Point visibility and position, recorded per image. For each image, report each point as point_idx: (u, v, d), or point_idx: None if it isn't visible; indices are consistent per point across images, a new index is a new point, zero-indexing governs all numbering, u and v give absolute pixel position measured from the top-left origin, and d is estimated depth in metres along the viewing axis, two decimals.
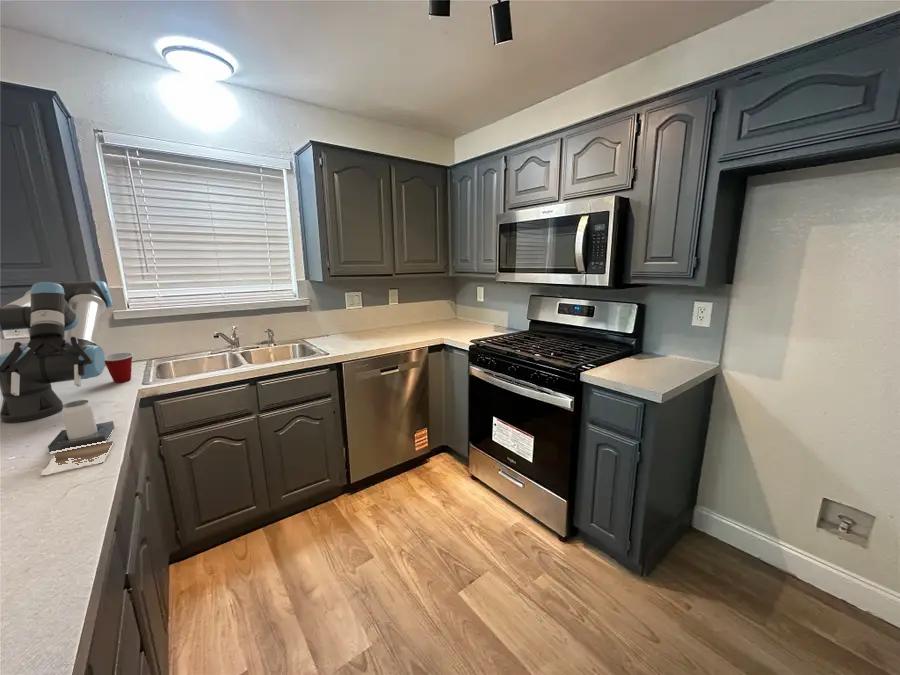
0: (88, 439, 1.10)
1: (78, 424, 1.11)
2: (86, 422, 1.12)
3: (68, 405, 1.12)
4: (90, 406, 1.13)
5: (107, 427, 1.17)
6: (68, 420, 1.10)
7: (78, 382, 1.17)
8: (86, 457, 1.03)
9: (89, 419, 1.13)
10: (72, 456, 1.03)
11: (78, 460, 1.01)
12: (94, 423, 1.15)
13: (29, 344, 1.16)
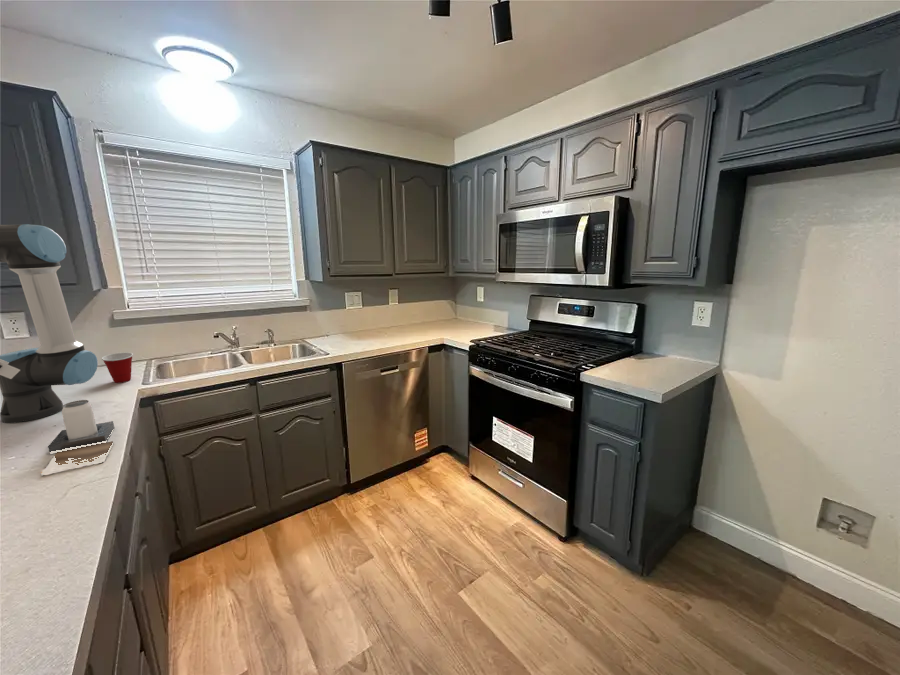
0: (88, 439, 1.10)
1: (78, 424, 1.11)
2: (86, 422, 1.12)
3: (68, 405, 1.12)
4: (90, 406, 1.13)
5: (107, 427, 1.17)
6: (68, 420, 1.10)
7: (10, 375, 0.96)
8: (86, 457, 1.03)
9: (89, 419, 1.13)
10: (72, 456, 1.03)
11: (78, 460, 1.01)
12: (94, 423, 1.15)
13: None
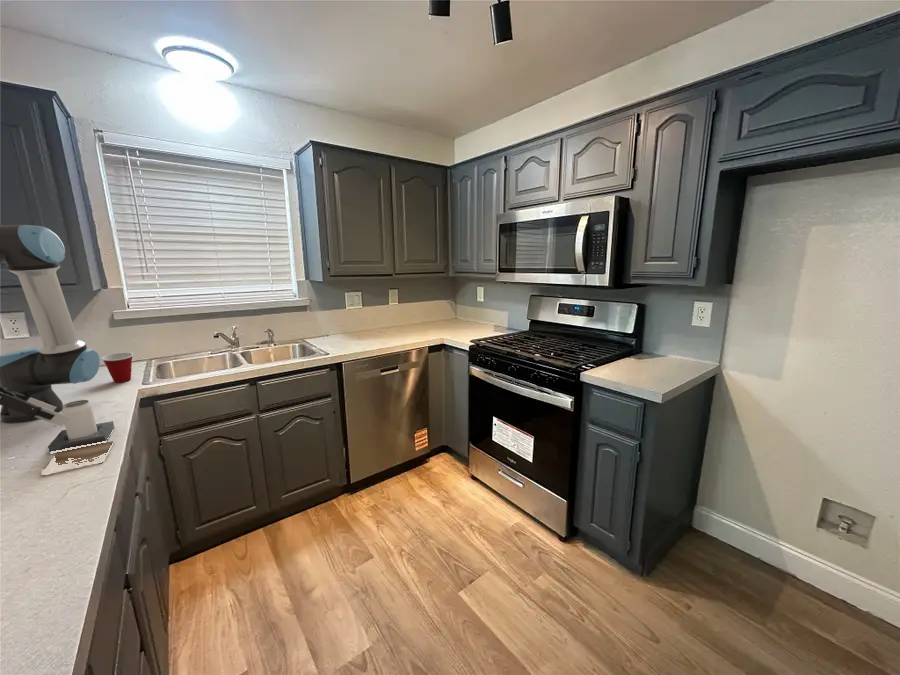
0: (88, 439, 1.10)
1: (78, 424, 1.11)
2: (86, 422, 1.12)
3: (68, 405, 1.12)
4: (90, 406, 1.13)
5: (107, 427, 1.17)
6: (68, 420, 1.10)
7: (61, 423, 1.04)
8: (86, 457, 1.03)
9: (89, 419, 1.13)
10: (72, 456, 1.03)
11: (78, 460, 1.01)
12: (94, 423, 1.15)
13: None
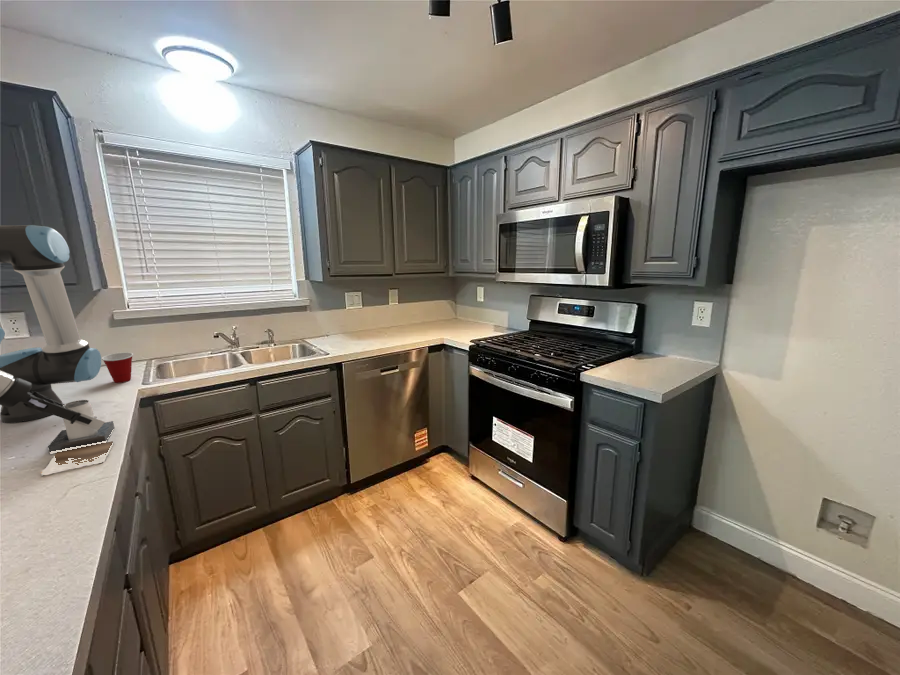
0: (88, 439, 1.10)
1: (78, 424, 1.11)
2: None
3: (68, 405, 1.12)
4: (90, 406, 1.13)
5: (107, 427, 1.17)
6: (68, 420, 1.10)
7: (97, 427, 1.14)
8: (86, 457, 1.03)
9: None
10: (72, 456, 1.03)
11: (78, 460, 1.01)
12: None
13: None
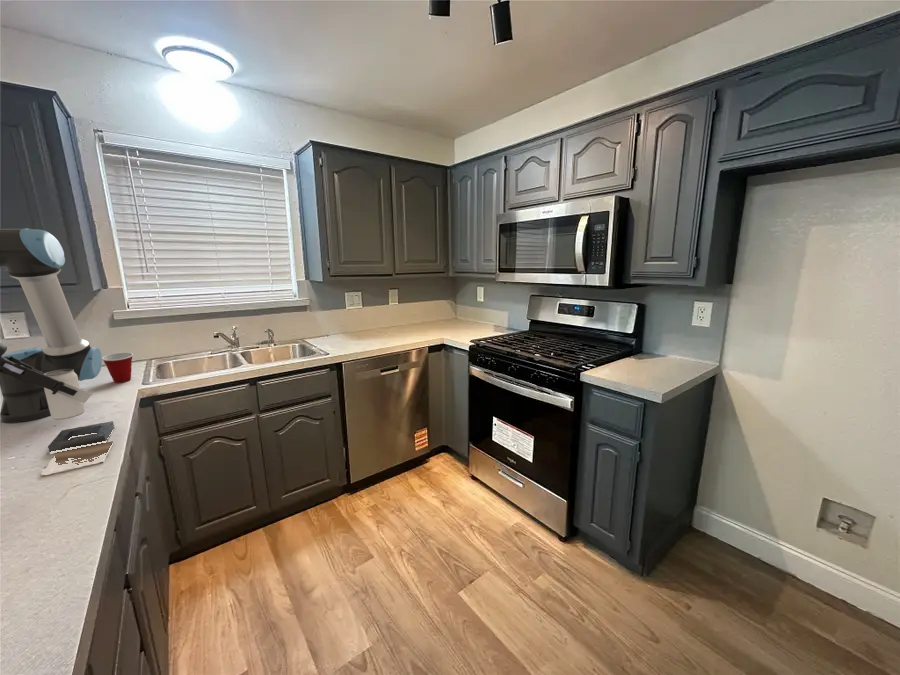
0: (88, 439, 1.10)
1: (61, 395, 0.97)
2: None
3: (50, 373, 0.98)
4: (75, 376, 1.00)
5: (107, 427, 1.17)
6: (50, 391, 0.96)
7: (83, 399, 1.00)
8: (86, 457, 1.03)
9: None
10: (72, 456, 1.03)
11: (78, 460, 1.01)
12: None
13: None
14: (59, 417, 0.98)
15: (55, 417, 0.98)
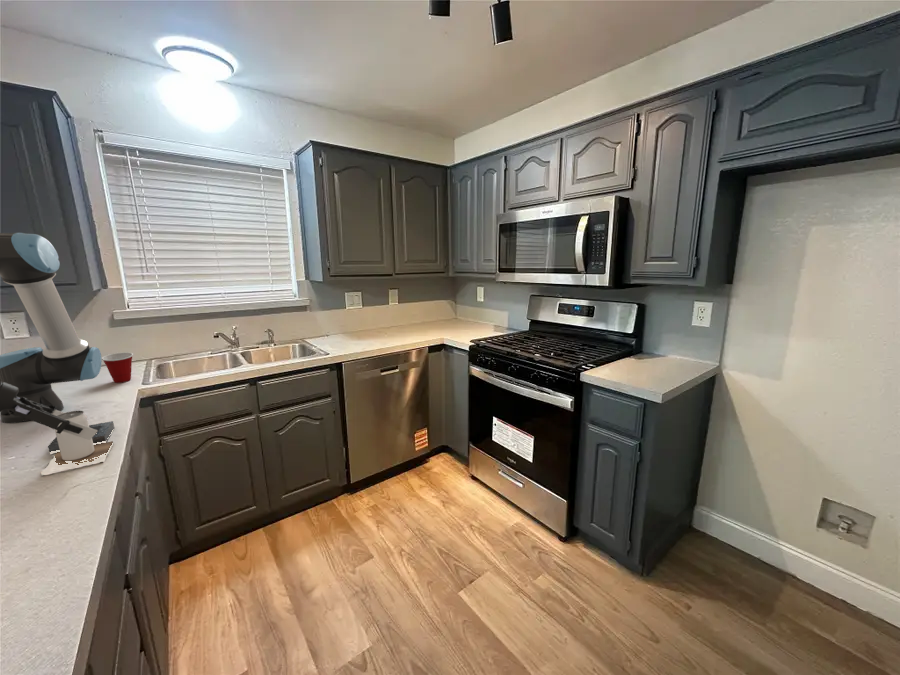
0: None
1: (72, 437, 1.00)
2: None
3: (61, 416, 1.01)
4: (85, 417, 1.03)
5: (107, 427, 1.17)
6: (61, 434, 0.99)
7: (89, 436, 0.99)
8: (86, 457, 1.03)
9: None
10: None
11: (78, 460, 1.01)
12: None
13: None
14: (70, 459, 1.01)
15: (66, 459, 1.01)
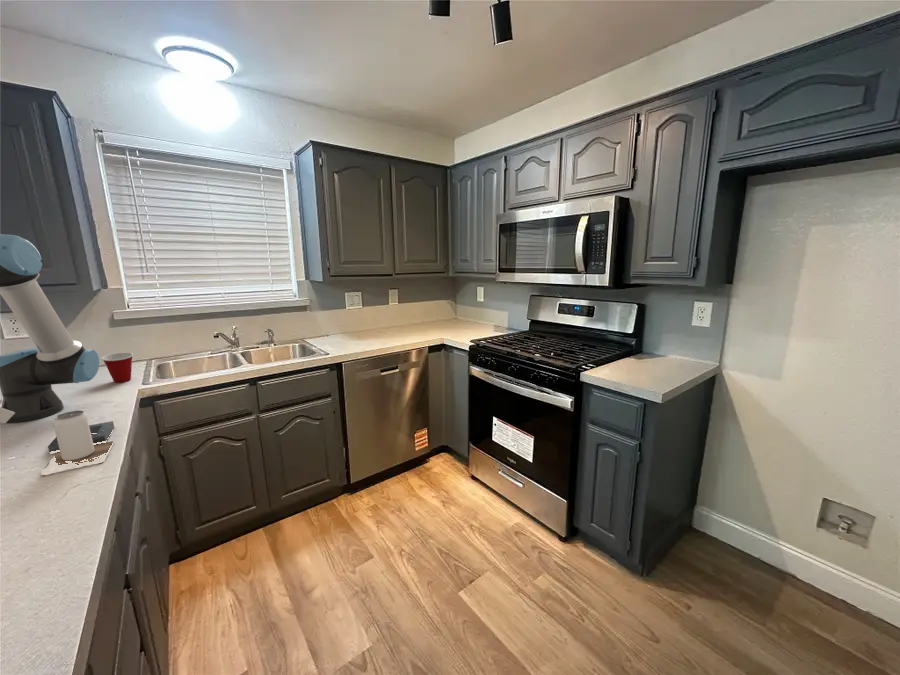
0: None
1: (72, 437, 1.00)
2: (81, 435, 1.01)
3: (61, 416, 1.01)
4: (85, 417, 1.03)
5: (107, 427, 1.17)
6: (61, 434, 0.99)
7: (4, 419, 0.87)
8: (86, 457, 1.03)
9: (84, 431, 1.02)
10: None
11: (78, 460, 1.01)
12: (90, 436, 1.04)
13: None
14: (70, 459, 1.01)
15: (66, 459, 1.01)
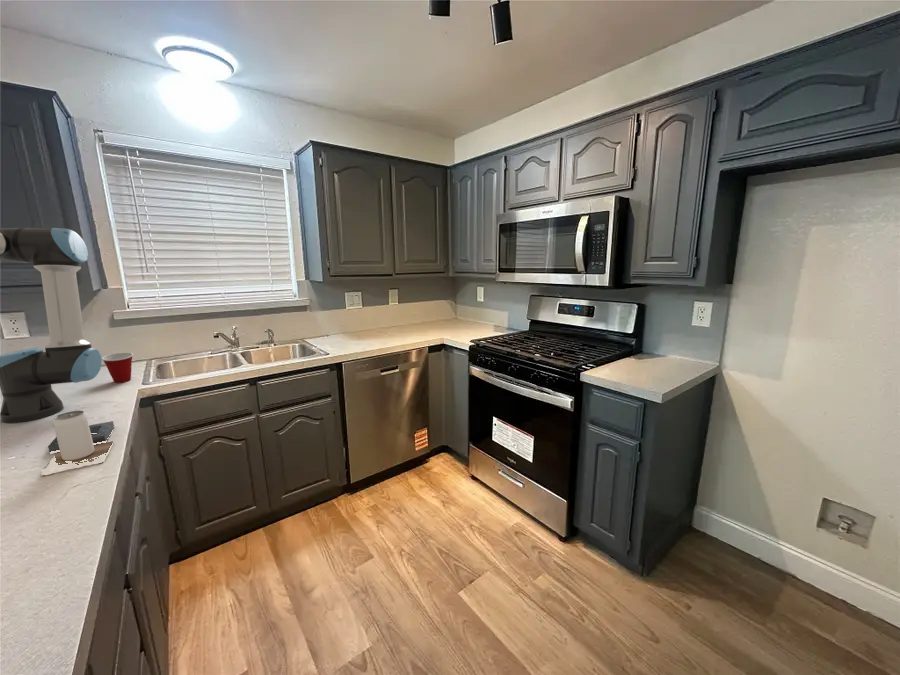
0: None
1: (72, 437, 1.00)
2: (81, 435, 1.01)
3: (61, 416, 1.01)
4: (85, 417, 1.03)
5: (107, 427, 1.17)
6: (61, 434, 0.99)
7: None
8: (86, 457, 1.03)
9: (84, 431, 1.02)
10: None
11: (78, 460, 1.01)
12: (90, 436, 1.04)
13: None
14: (70, 459, 1.01)
15: (66, 459, 1.01)
